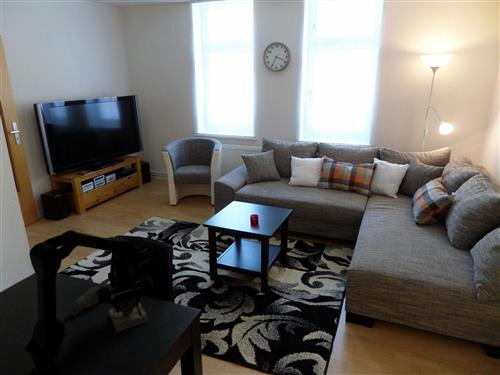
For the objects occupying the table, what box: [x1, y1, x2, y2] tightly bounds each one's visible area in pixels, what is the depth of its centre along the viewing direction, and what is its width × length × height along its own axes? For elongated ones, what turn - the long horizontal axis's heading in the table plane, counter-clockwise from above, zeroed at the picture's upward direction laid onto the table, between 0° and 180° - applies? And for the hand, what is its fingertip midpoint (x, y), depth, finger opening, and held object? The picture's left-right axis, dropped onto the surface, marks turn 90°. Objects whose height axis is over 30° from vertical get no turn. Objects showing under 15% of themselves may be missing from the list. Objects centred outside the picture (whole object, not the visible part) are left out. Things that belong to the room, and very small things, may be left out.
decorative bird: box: [71, 278, 110, 317], centre depth 132 cm, size 5×16×7 cm, turn 151°
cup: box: [115, 289, 137, 316], centre depth 124 cm, size 8×7×8 cm
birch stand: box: [109, 302, 149, 333], centre depth 125 cm, size 11×11×2 cm
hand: (127, 309), depth 125 cm, fingers closed on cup, 6 cm apart
